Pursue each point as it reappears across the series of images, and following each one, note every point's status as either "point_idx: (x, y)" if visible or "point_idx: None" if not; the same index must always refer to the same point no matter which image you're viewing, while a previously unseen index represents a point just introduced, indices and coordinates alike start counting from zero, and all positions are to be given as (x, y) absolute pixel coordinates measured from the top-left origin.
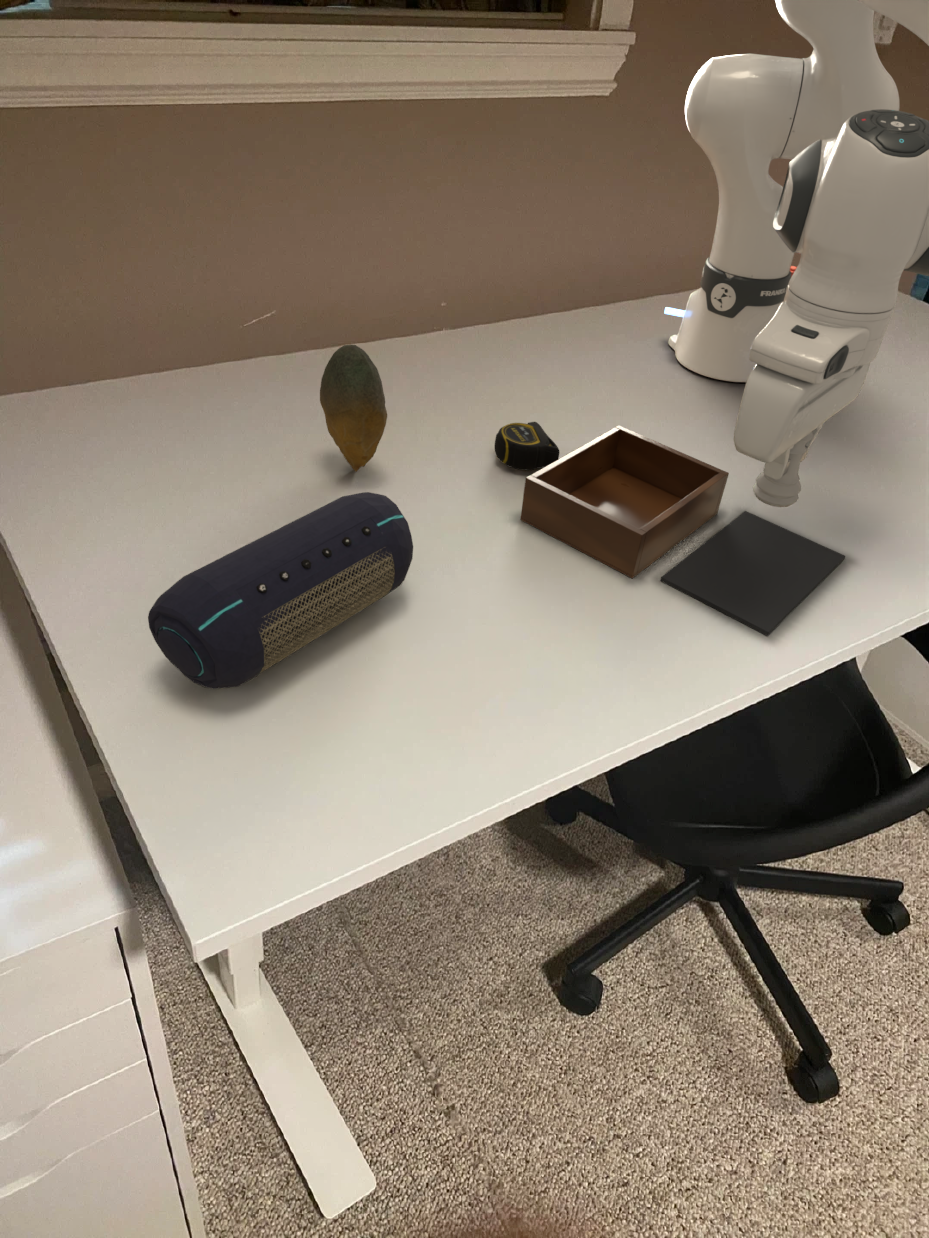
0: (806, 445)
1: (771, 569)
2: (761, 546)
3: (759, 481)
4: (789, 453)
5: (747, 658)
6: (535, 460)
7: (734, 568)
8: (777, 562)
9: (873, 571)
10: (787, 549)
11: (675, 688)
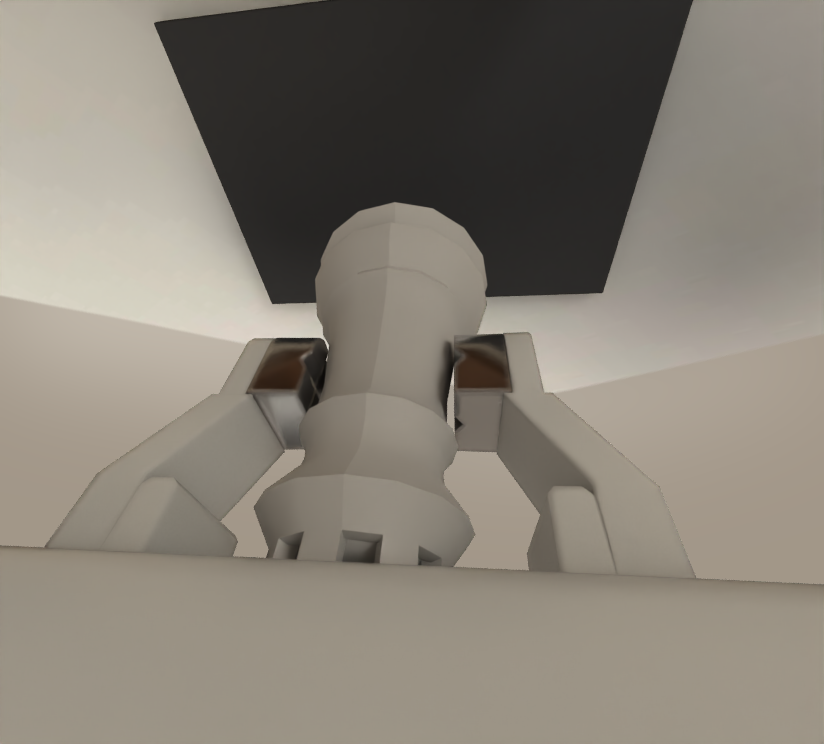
0: (499, 450)
1: None
2: (512, 143)
3: (325, 268)
4: (229, 509)
5: (207, 303)
6: None
7: (368, 152)
8: (474, 210)
9: (592, 332)
10: (545, 198)
11: (50, 269)
